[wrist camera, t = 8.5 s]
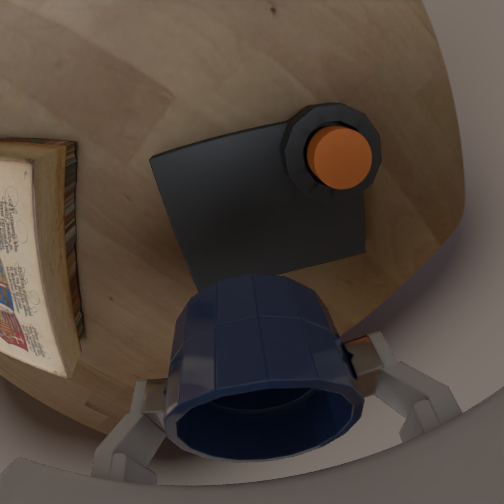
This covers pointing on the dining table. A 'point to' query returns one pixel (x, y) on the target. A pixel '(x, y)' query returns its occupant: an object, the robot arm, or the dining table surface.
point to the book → (39, 255)
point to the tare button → (339, 156)
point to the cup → (258, 373)
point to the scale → (263, 198)
